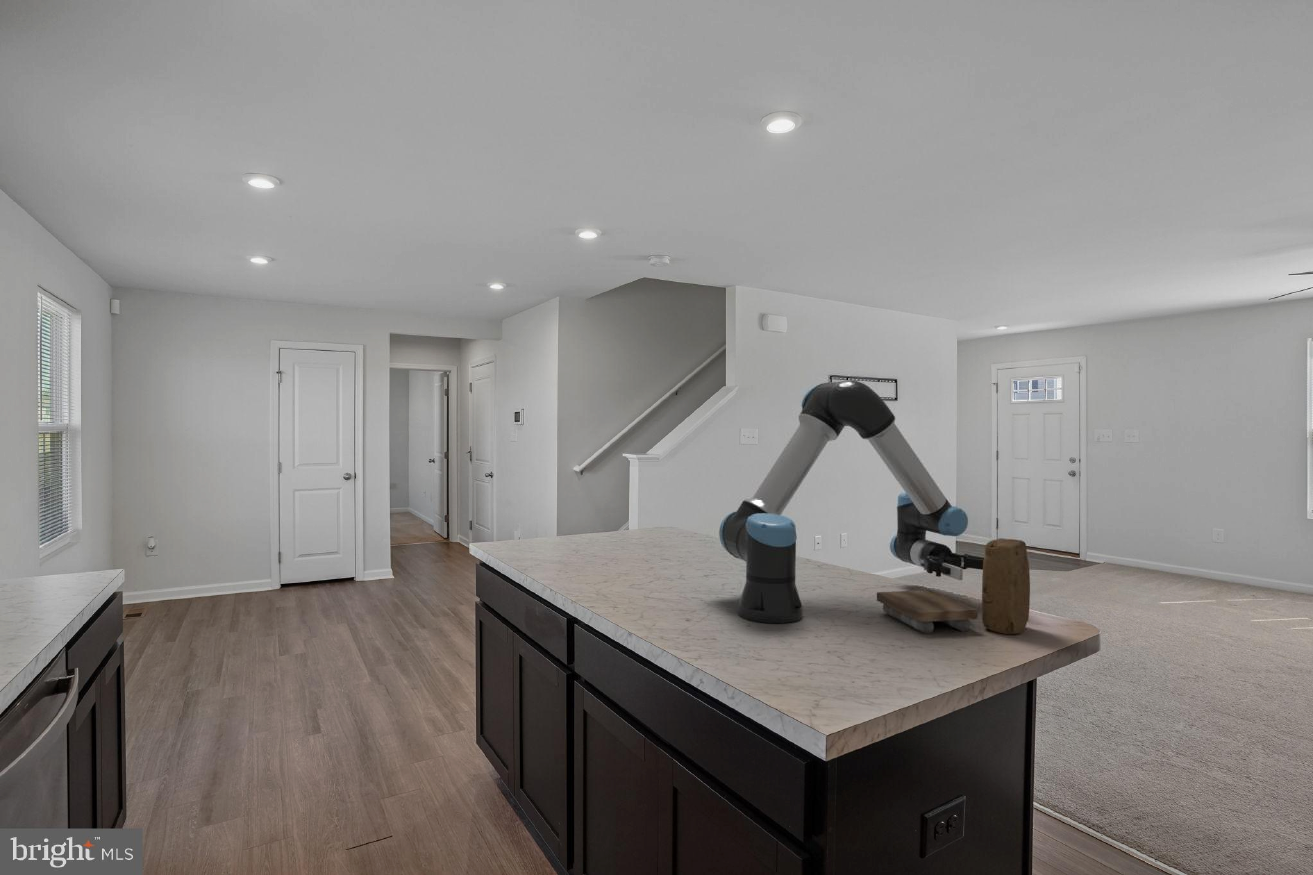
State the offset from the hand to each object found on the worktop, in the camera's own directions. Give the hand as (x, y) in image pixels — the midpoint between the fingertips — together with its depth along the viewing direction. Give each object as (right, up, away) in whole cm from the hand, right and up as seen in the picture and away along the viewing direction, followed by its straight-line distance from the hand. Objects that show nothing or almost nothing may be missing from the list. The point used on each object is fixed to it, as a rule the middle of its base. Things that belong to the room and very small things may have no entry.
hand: (987, 573), depth 157 cm
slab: (-15, -11, -2) cm, 19 cm away
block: (+1, -11, -7) cm, 13 cm away
